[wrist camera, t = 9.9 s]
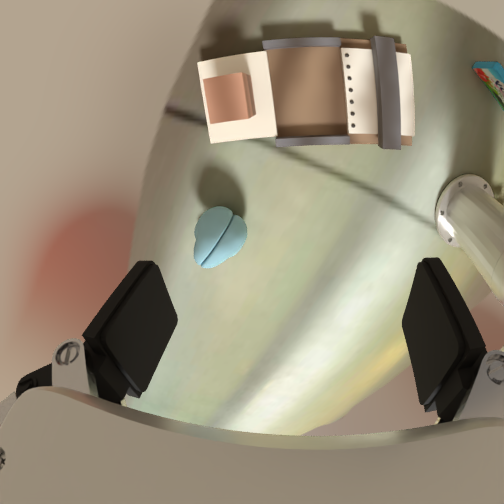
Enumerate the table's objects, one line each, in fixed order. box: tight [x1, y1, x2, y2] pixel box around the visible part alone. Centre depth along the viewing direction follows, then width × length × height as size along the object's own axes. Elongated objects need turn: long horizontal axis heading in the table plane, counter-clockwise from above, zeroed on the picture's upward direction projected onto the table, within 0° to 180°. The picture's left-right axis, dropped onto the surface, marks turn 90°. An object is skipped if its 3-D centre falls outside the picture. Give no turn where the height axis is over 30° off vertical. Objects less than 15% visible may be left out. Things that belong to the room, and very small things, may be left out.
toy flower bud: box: [194, 206, 247, 268], centre depth 40 cm, size 7×9×12 cm
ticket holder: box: [262, 36, 415, 150], centre depth 27 cm, size 18×14×4 cm
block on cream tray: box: [197, 51, 278, 143], centre depth 27 cm, size 8×11×7 cm
